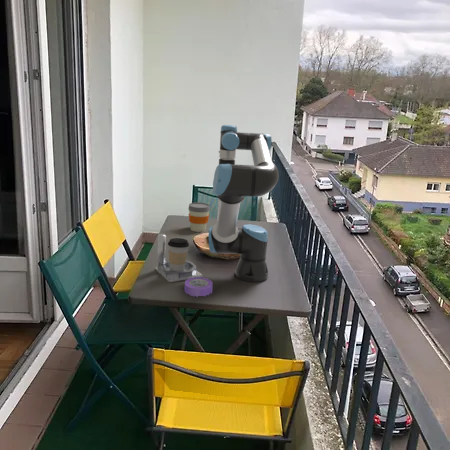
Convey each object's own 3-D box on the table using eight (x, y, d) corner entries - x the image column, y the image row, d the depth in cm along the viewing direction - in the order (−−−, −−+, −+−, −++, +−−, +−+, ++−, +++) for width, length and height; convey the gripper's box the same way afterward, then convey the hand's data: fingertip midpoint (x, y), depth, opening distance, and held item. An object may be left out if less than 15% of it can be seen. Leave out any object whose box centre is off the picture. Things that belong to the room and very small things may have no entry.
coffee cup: (182, 277, 200) (184, 244, 197) (162, 273, 203) (164, 240, 200) (190, 271, 209) (192, 239, 206) (171, 267, 212) (173, 236, 209)
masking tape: (184, 296, 187) (184, 288, 185) (184, 284, 198) (184, 276, 197) (213, 297, 188) (213, 289, 186) (211, 285, 199) (212, 277, 198)
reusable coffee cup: (186, 231, 267) (187, 206, 262) (188, 225, 279) (189, 201, 274) (207, 233, 267) (209, 208, 262) (209, 227, 279) (210, 203, 274)
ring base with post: (202, 276, 206) (204, 241, 201) (169, 282, 198) (170, 245, 193) (186, 264, 219) (188, 230, 214) (155, 269, 211) (156, 234, 207)
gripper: (226, 154, 229) (223, 195, 235) (212, 161, 205) (209, 207, 212) (240, 155, 227) (237, 197, 233) (228, 163, 204) (225, 209, 210)
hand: (224, 202), depth 222 cm, fingers open, 13 cm apart
